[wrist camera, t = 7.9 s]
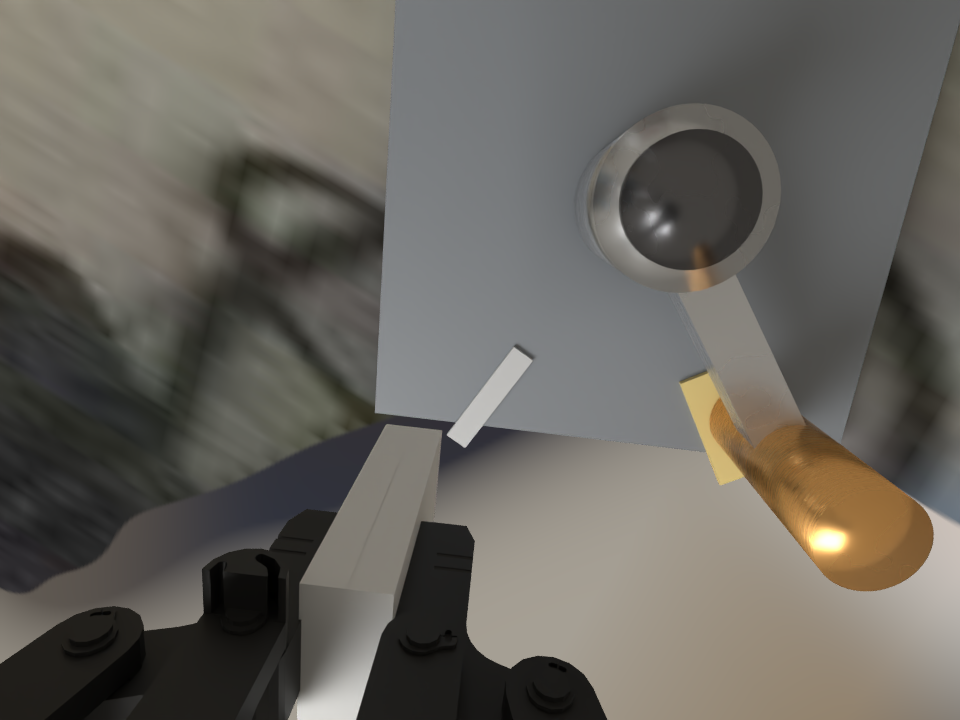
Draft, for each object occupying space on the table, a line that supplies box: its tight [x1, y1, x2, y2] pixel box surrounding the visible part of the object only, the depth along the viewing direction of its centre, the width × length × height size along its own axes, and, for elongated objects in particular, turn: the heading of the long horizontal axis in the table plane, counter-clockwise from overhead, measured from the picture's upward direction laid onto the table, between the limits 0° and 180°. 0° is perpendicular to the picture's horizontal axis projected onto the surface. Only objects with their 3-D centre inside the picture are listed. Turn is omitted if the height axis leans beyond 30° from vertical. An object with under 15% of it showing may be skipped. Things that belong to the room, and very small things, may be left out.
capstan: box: [574, 103, 933, 591], centre depth 19 cm, size 14×5×9 cm, turn 30°
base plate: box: [375, 0, 960, 485], centre depth 23 cm, size 20×21×2 cm
